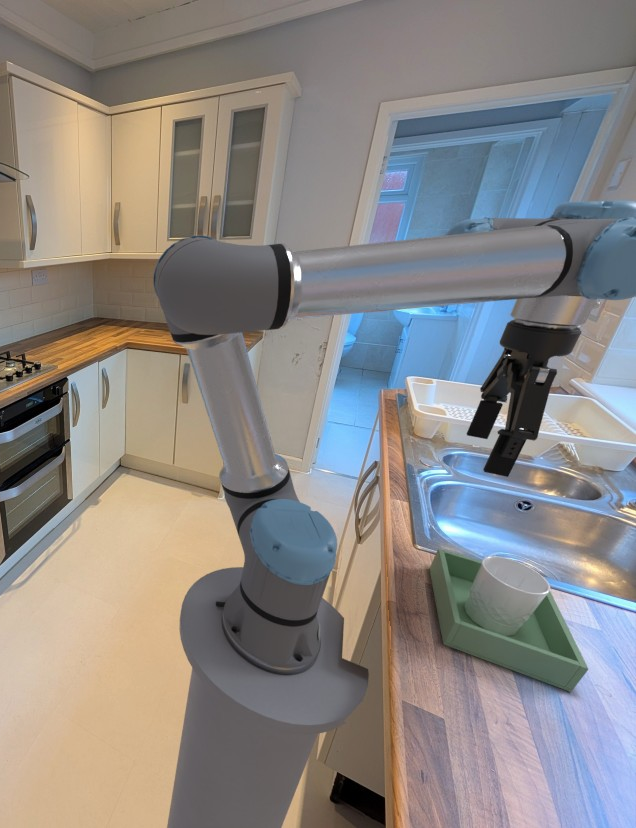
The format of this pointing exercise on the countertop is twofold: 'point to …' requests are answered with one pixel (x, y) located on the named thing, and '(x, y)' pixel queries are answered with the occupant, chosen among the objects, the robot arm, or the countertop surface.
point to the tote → (523, 652)
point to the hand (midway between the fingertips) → (485, 453)
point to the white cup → (504, 595)
